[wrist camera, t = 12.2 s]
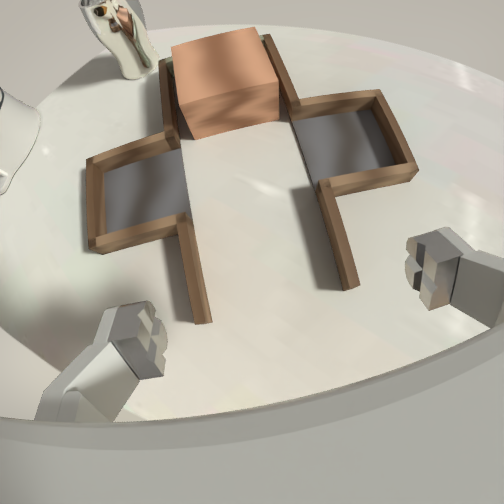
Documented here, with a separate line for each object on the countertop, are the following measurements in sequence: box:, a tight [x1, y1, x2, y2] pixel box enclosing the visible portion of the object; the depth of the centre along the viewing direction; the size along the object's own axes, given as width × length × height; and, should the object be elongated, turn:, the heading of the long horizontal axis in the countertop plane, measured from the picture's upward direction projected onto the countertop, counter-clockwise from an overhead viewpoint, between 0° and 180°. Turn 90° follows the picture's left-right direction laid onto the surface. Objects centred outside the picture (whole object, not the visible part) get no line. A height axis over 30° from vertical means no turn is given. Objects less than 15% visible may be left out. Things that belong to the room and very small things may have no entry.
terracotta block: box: [171, 27, 279, 140], centre depth 33 cm, size 10×10×7 cm
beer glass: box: [79, 0, 160, 80], centre depth 32 cm, size 7×7×15 cm
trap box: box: [86, 34, 419, 325], centre depth 32 cm, size 35×33×3 cm
